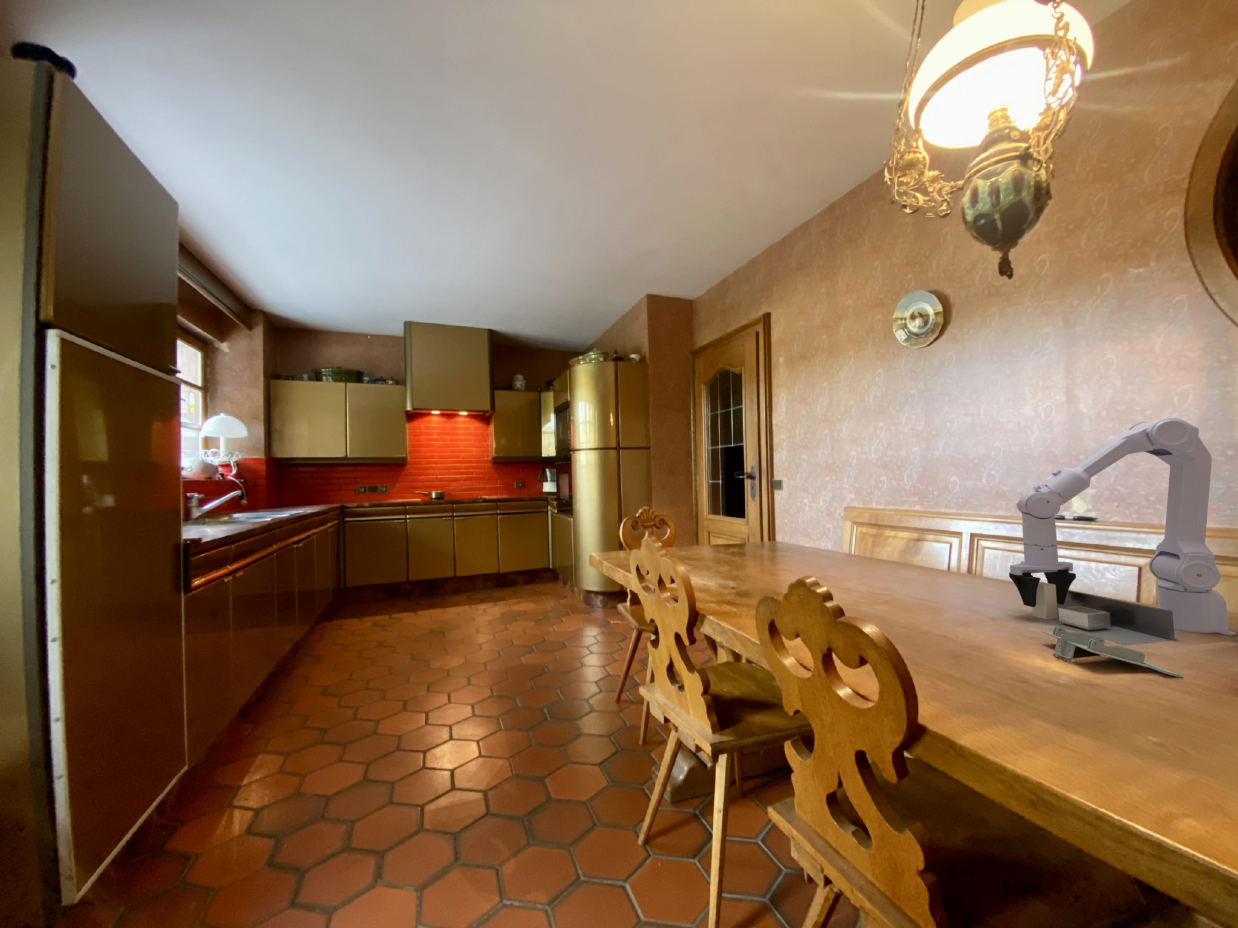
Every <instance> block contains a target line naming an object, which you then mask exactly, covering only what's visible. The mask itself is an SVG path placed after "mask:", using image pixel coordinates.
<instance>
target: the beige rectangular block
mask: <svg viewBox="0 0 1238 928" xmlns="http://www.w3.org/2000/svg"><path fill="white" fill-rule="evenodd" d="M1031 610H1032V611H1031V614H1033V616H1035V617H1039V618H1043V619H1046V620H1047V619H1057V618H1058V613H1057V599H1056V585H1055V584H1050V583H1048V582H1043V581H1040V582H1039V584H1038V587H1037V593H1036V606H1035V607H1031Z"/></svg>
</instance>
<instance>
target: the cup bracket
mask: <svg viewBox="0 0 1238 928" xmlns="http://www.w3.org/2000/svg"><path fill="white" fill-rule="evenodd" d="M1057 612H1059V622H1062V623H1066V624H1069V625H1073V626H1077V627H1080V628H1084V629H1088V630H1091V629H1101V628H1111V625H1112V626H1116V627H1120V628H1124V629H1128V630H1132V631H1136V632H1140V633H1144V634H1147V635H1151V636H1155V637H1159V638H1163V639H1167V640H1171V641H1176V640H1175V639H1176V638H1175V637H1176V636H1175V629H1174V624H1173V612H1172V611H1170V610H1166V609H1161V608H1159V607H1156V606H1155V607H1154V606H1151V605H1147V604H1146V605H1145V604H1140V603H1135V602H1131V601H1125V600H1120V599H1116V598H1112V597H1111V598H1110V597H1108V596H1107V597H1106V596H1101V595H1095V594H1091V593H1086V592H1082V591H1076V590H1073V589H1069V590H1068V592H1067V596H1066V599H1065V603H1064V605H1061V604H1057Z"/></svg>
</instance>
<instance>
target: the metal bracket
mask: <svg viewBox="0 0 1238 928" xmlns="http://www.w3.org/2000/svg"><path fill="white" fill-rule="evenodd" d="M1041 633H1044V634H1045V635H1048V636H1051V637H1054V638H1055V639H1057V640H1056V643H1055V647H1054V653H1053V657H1054V658H1057V659H1059V660H1060V661H1063V662H1064V663H1067V664H1069V665H1072V664H1073V663H1072V662H1073V660H1074V653H1075V651H1076V650H1075V649H1076V647H1079V648H1081V649H1083V650H1086V651H1088V652H1090V653H1094V654H1096V655H1100V656H1104V657H1107V658H1111V659H1116V660H1119V661H1123V662H1127V663H1130V664H1135V665H1138V666H1142V667H1145V668H1149V669H1152V670H1155V671H1158V672H1160V673H1163V674H1167V675H1170V676H1172V677H1177V678H1181V679H1184V678H1185V677H1184V676H1183V675H1181V674H1180V673H1177V672H1173V671H1171V670H1169V669H1166V668H1164V667H1162V666H1161V667H1160V666H1158V665H1157V664H1153V663H1151V662H1148V661H1145V657H1146V654H1145V653H1143V652H1141V651H1139V650H1136V649H1132V648H1129V647H1124V646H1121V645H1110V644H1109V645H1105V641H1106V640H1104V639H1103V638H1100V637H1097V636H1094V635H1090V634H1086V633H1082V632H1076V631H1067V629H1065V628H1062V627H1059V626H1054V627H1053V629H1052V632H1048V631H1045V630H1041Z"/></svg>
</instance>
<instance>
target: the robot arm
mask: <svg viewBox="0 0 1238 928" xmlns="http://www.w3.org/2000/svg"><path fill="white" fill-rule="evenodd" d="M1199 431H1200V429H1199V428H1198V427H1197V426H1195V425H1193V424H1191V423H1190V422H1187V421H1186V420H1184V419H1181V418H1177V417H1166V418H1162V419H1159V420H1153V421H1142V422H1137V423H1135V424H1133V425H1132V426H1130V427H1128V429H1127V430H1123V431H1122V432H1120V433H1118V434H1117V435H1115V437H1113V438H1112V439H1111V440H1109V441H1108V442H1107V443H1106V444H1104V445H1103V446H1102V447H1100V448H1099V449H1098V450H1097V451H1095V452H1094V453H1093V454H1091V455H1090V456H1088V457H1087V458H1086V459H1085V460H1084V461H1082V462H1081V463H1080V464H1078V465H1077V466H1076V467H1074V468H1073V467H1064V468H1062V469H1056V470H1054V471H1052V473H1051V474H1052V476H1051V477H1049V478H1048V479H1047V480H1045V481H1044V482H1043V483H1041V484H1040V485H1039V484H1036V485H1034V486H1033V487H1032V488H1033V490H1034V491H1029V492H1026V493H1024V494H1022V495H1021V496H1020V497H1019V498H1018V499H1019V500H1018V501H1017V502H1016V504H1015V505H1016V508H1017V510H1018V511H1019V512H1020V513H1021V517H1022V518H1021V519H1022V523H1021V525H1022V528H1021V529H1022V543H1023V544H1022V545H1023V559H1024V560H1022V561H1020V563H1016V564H1010V565H1009V572H1008V577H1009V578H1010V579H1011V581H1012V583H1013V584H1014V585H1015V587H1016V588H1017V591H1018V594H1019V595H1020V598H1021V600H1022V604H1023V605H1024V606H1026V607H1030V608H1032V607H1035V606H1036V593H1037V587H1038V584H1039V582H1041V580H1042V579H1041V577H1037V576H1034V574H1042V573H1043V575H1044V577H1045V579H1046V581H1047V582H1046V583H1050V584H1055V585H1056V599H1057V604H1061V605H1064V603H1065V599H1066V596H1067V592H1068V590H1070V587H1071V586H1072V584H1073V582H1074V581H1075V580H1076V578H1077V574H1076V573H1074V572H1073V571H1074V564H1073V562H1069V561H1059V554H1058V539H1057V525H1056V515H1058V513H1059V512H1060V510H1061V507H1062V506H1063V505H1065V504H1067V503H1068V502H1069V501H1070V500H1073V499H1074V498H1075V497H1076V496H1079V494H1081V493H1083V492H1084V491H1086V490H1087V489H1089V488H1090V485H1091V478H1093V477H1095V476H1096V475H1098V474H1099V473H1101V472H1102V471H1104V470H1105V469H1108V468H1109V467H1111V466H1112V465H1113V464H1115V463H1117V462H1118V461H1121V460H1122V459H1123V458H1125V457H1127V456H1128V455H1132V454H1137V453H1146V454H1149V455H1153V456H1155V457H1156V458H1158V459H1159V460H1161V461H1163V462H1164V463H1165V464H1167V465H1169V476H1168V477H1169V478H1168V488H1167V489H1168V490H1167V499H1166V502H1167V503H1166V514H1165V516H1166V517H1165V526H1164V527H1165V529H1164V537H1163V540H1162V541H1161V542H1159V543H1158V544H1157V545H1156V548H1155V554H1154V555H1153V556H1152V557H1151V558H1150V560H1149V562H1148V569H1149V571H1150V573H1151V574H1152V576H1154V577H1155V578H1157V595H1158V597H1157V598H1158V606H1159V607H1158V608H1161V609H1166V610H1170V611H1172V612H1173V624H1174V630H1177V631H1185V632H1192V633H1202V634H1211V633H1218V634H1222V635H1227V636H1235V635H1236V632H1235V631H1230V630H1229V618H1228V617H1229V616H1228V605H1227V601H1226V599H1225V597H1224V596H1223V595H1222V594H1221V593H1219V592H1218V591H1216V590H1215V589H1214V588H1215V587H1217V586H1218V584H1219V583H1220V582H1221V572H1220V570H1219V569H1218V567H1217V565H1216V560H1215V559H1216V555H1215V554H1214V553H1213V551H1212V550H1211V549H1210V548H1209V547H1208V546H1207V545H1206V537H1207V535H1206V534H1207V525H1208V524H1207V522H1208V513H1209V512H1208V511H1209V499H1210V487H1211V475H1212V465H1213V464H1212V461H1213V458H1212V454H1211V453H1210V452H1209V450H1208V448H1207V447H1206V445H1205V443H1204V442H1203V441H1202V440H1201V438H1200V435H1199Z"/></svg>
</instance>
